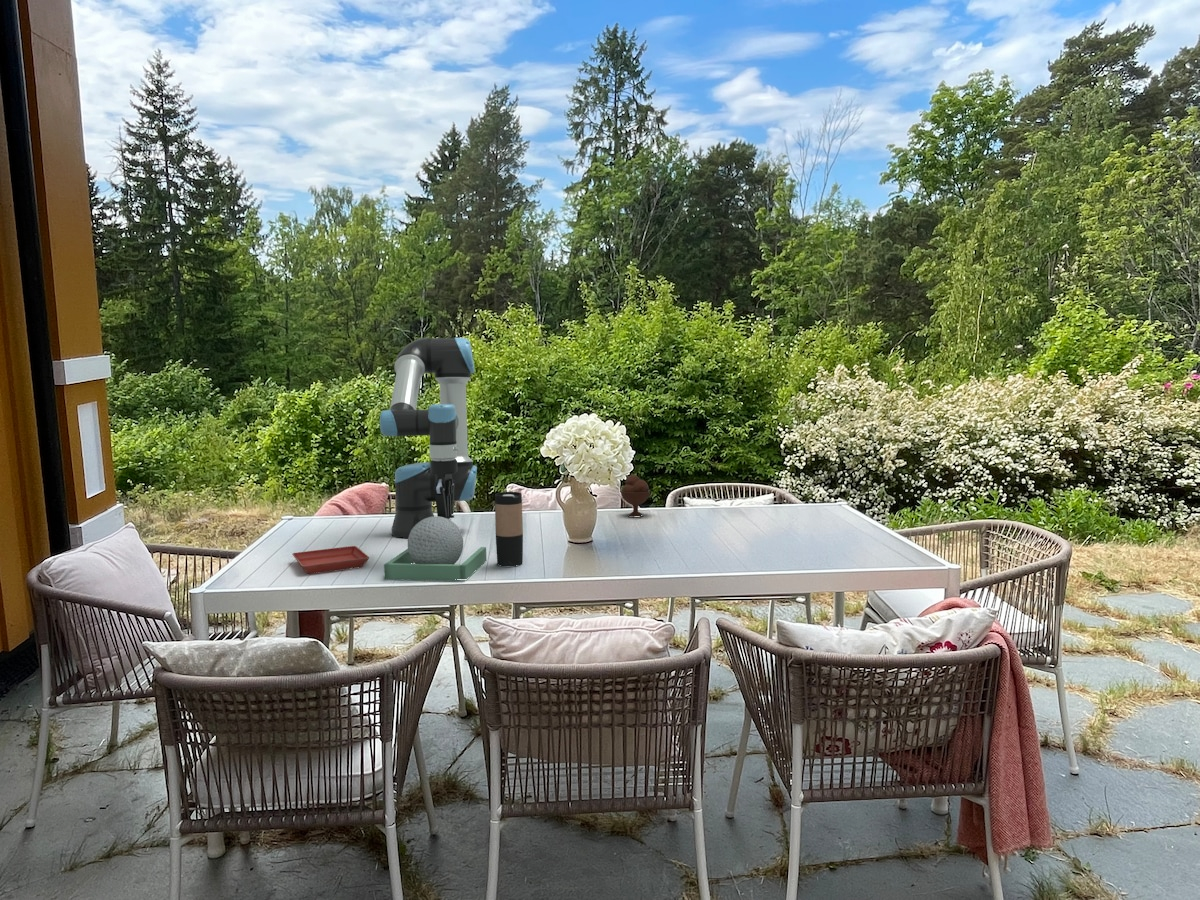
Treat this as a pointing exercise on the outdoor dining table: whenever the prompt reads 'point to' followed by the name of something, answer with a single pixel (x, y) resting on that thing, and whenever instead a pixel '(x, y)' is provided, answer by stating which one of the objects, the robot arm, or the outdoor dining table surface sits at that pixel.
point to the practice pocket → (432, 568)
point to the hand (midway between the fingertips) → (446, 541)
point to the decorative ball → (435, 541)
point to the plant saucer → (331, 559)
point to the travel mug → (509, 528)
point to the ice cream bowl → (635, 493)
